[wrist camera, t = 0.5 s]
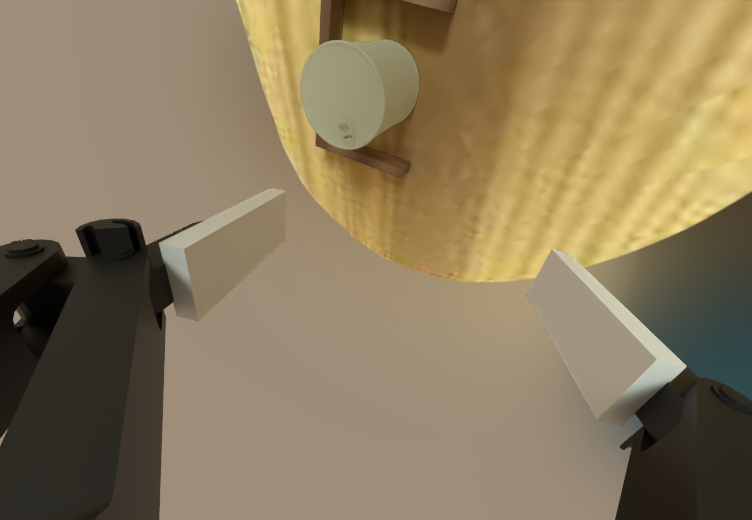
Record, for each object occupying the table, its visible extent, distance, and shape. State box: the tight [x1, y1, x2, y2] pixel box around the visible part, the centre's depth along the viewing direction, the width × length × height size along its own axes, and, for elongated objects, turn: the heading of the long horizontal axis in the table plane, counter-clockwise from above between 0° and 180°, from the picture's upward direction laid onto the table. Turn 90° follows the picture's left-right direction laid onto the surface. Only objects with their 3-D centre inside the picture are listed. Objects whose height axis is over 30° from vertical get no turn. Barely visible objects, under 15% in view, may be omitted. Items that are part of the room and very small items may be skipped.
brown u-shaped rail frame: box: [316, 0, 457, 178], centre depth 33 cm, size 14×18×3 cm
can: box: [301, 39, 419, 150], centre depth 30 cm, size 9×9×12 cm
